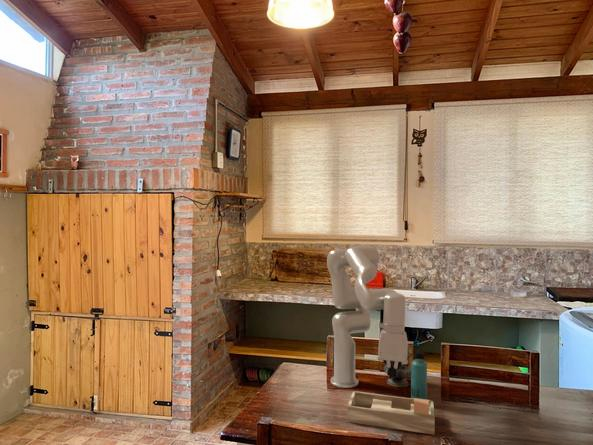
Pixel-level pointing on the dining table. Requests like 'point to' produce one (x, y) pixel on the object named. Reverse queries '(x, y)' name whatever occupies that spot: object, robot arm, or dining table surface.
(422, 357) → the beverage bottle
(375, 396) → the light wood long tray
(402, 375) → the dark ribbed vase
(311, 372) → the dining table surface
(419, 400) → the block
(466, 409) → the dining table surface
